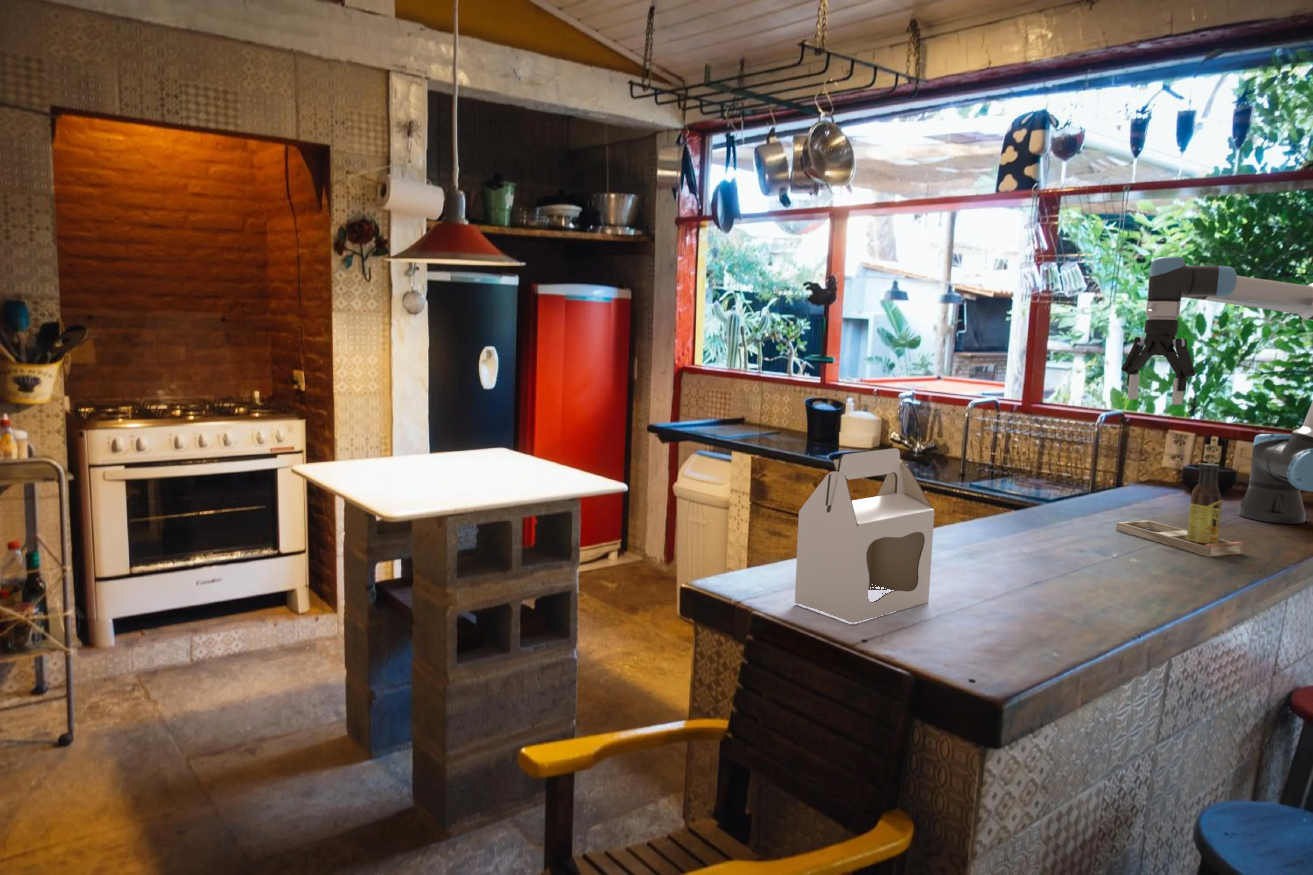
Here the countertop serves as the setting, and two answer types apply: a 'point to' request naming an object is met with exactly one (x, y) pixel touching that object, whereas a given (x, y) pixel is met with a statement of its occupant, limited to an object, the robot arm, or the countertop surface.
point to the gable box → (865, 540)
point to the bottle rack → (1178, 538)
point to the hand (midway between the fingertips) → (1154, 401)
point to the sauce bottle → (1205, 507)
